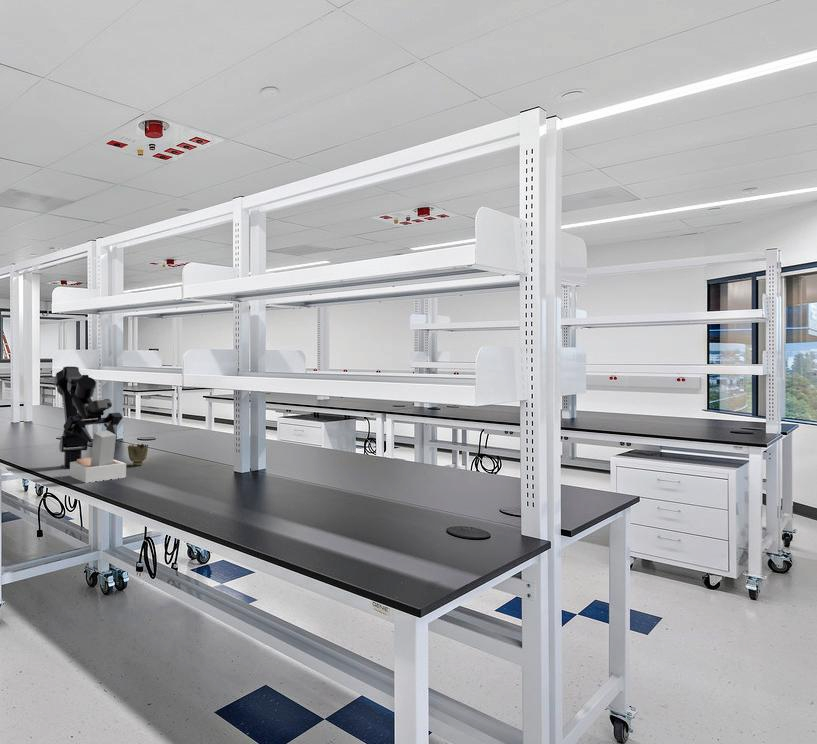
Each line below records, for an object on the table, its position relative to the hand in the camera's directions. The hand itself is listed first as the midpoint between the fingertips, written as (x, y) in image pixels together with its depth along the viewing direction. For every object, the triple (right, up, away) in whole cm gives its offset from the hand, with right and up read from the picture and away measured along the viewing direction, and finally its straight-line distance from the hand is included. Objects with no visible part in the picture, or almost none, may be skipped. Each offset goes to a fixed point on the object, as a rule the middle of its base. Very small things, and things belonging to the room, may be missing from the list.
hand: (103, 440), depth 201 cm
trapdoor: (-4, -13, +4) cm, 14 cm away
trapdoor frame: (-4, -13, +3) cm, 14 cm away
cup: (0, -13, +25) cm, 28 cm away
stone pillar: (-1, -10, +1) cm, 10 cm away
